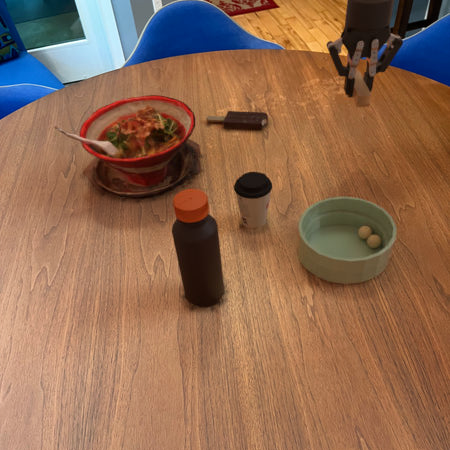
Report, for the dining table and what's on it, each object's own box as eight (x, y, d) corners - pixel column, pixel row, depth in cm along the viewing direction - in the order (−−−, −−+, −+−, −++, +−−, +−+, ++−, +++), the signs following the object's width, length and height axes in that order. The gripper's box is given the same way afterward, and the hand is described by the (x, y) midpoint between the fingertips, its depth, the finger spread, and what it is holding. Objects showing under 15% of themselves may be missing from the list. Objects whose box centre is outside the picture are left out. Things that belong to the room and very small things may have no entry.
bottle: (211, 313, 79) (198, 220, 63) (177, 300, 81) (156, 207, 66) (231, 286, 82) (223, 191, 67) (198, 273, 85) (182, 179, 70)
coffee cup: (239, 237, 90) (236, 194, 82) (233, 214, 95) (230, 171, 87) (275, 231, 90) (276, 188, 83) (268, 208, 95) (267, 165, 87)
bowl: (376, 218, 91) (382, 192, 86) (400, 281, 80) (408, 256, 76) (291, 226, 91) (292, 200, 87) (304, 289, 81) (306, 264, 76)
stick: (357, 82, 95) (359, 70, 93) (369, 106, 89) (371, 94, 87) (345, 83, 95) (347, 71, 93) (356, 107, 89) (358, 95, 87)
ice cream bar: (204, 127, 116) (265, 130, 113) (203, 121, 115) (265, 124, 112) (209, 116, 119) (268, 118, 117) (208, 109, 118) (268, 112, 115)
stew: (79, 221, 96) (51, 151, 84) (78, 156, 112) (54, 89, 100) (215, 195, 99) (207, 124, 86) (195, 135, 114) (186, 67, 102)
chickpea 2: (381, 242, 86) (385, 242, 83) (370, 250, 86) (374, 251, 84) (373, 231, 85) (377, 231, 83) (362, 240, 86) (366, 240, 83)
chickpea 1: (365, 224, 84) (368, 238, 84) (372, 223, 86) (375, 237, 86) (354, 228, 86) (356, 241, 86) (361, 227, 88) (364, 239, 88)
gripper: (334, 5, 76) (324, 108, 89) (421, -4, 76) (399, 100, 89) (324, -11, 81) (317, 89, 94) (406, -20, 81) (387, 81, 94)
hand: (357, 94), depth 92 cm, fingers closed on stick, 2 cm apart
